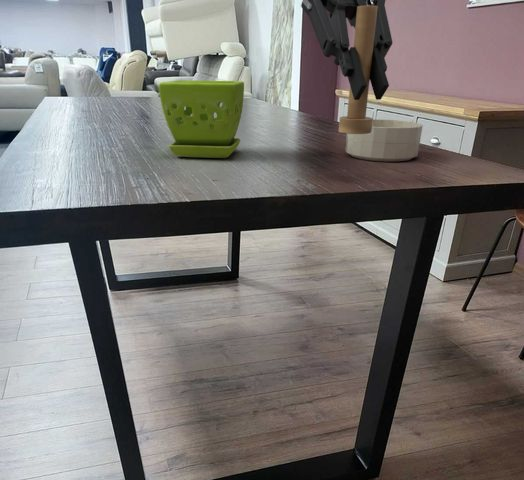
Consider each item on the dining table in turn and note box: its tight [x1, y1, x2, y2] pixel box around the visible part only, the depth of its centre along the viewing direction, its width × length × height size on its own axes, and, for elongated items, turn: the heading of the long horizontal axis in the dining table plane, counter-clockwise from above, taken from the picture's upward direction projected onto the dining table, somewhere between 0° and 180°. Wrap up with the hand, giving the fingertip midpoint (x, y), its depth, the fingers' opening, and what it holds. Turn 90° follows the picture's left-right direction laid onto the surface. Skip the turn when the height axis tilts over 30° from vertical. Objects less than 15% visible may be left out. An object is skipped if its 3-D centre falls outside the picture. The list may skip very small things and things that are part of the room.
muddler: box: [338, 5, 378, 135], centre depth 72 cm, size 5×5×16 cm
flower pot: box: [158, 80, 245, 159], centre depth 93 cm, size 14×14×13 cm
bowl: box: [344, 118, 424, 162], centre depth 97 cm, size 14×14×6 cm
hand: (371, 92), depth 70 cm, fingers closed on muddler, 3 cm apart
